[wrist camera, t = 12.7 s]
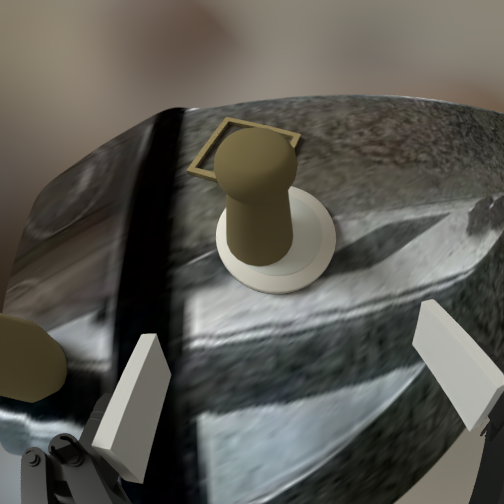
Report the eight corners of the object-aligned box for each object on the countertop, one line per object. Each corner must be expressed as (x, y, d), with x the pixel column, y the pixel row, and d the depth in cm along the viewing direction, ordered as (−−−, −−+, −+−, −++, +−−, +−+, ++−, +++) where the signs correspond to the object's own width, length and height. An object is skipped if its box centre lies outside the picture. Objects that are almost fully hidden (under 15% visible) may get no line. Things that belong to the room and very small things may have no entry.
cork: (214, 227, 26) (186, 138, 16) (268, 197, 27) (267, 104, 17) (248, 279, 24) (235, 202, 14) (306, 243, 25) (328, 155, 15)
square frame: (300, 137, 32) (300, 134, 32) (271, 198, 29) (271, 195, 28) (226, 120, 34) (226, 117, 34) (187, 173, 31) (186, 170, 30)
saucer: (345, 210, 28) (348, 204, 27) (312, 312, 24) (315, 309, 23) (245, 178, 30) (245, 171, 29) (197, 267, 26) (194, 262, 25)
